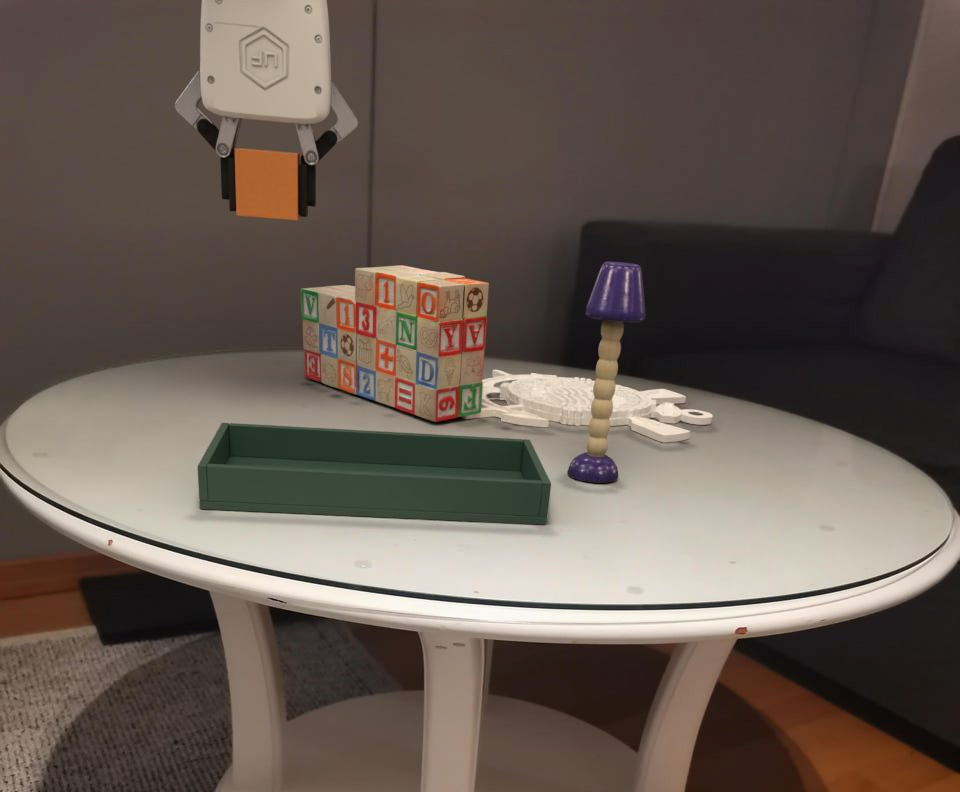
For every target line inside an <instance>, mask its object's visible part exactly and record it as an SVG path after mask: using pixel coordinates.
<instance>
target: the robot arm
mask: <svg viewBox="0 0 960 792" xmlns="http://www.w3.org/2000/svg"><path fill="white" fill-rule="evenodd" d="M200 6H201V7H200V32H199V33H200V34H199V35H200V37H199V69H198V71H197V72H196V73H195V75H194V76H193V78H192V79H191V80H190V81H189V83H188V84H187V86H186V87H185V89H184V90H183V91H182V93H181V94H180V96H179V97H178V98H177V100H176V101H175V103H174V110H175V111H176V112H177V113H178V114H179V115H180V116H181V117H182V118H183V119H184V120H185V121H186V122H187V123H188V124H189V125H191V127H193V128H194V129H195V130H196V131H197V132H198V133H199V134H200V135H201V136H202V138H203V139H204V140H205V141H206V142H207V143H208V145H209V146H210V147H211V148H212V149H213V150H214V151H215V152H216V154H217V156H218V157H219V158H220V160H219V161H220V186H221V199H222V200H226V201H227V200H228V202H229V203H228V204H229V206H228V207H229V212H236V180H235V149H236V145H237V142H238V138H239V133H240V129H241V126H242V122H243V120H253V121H265V122H274V123H286V124H294V126H295V129H296V133H297V138H298V140H299V145H300V149H301V152H302V154H301V164H300V165H299V166H298V215H300V218H301V217H302V218H307V217H308V216H309V207H313V208H315V207H316V204H317V164H318V163H319V162H320V161H321V160H322V159H323V158H325V156H326V155H327V154H328V153H329V152H330V151H331V150H332V149H333V148H335V146H336V145H337V144H338V143H340V142H341V141H342V140H343V139H344V138H346V137H347V136H348V135H349V134H351V133H352V132H354V131H355V130H356V129H357V128H358V125H359V120H358V118H357V117H356V115H355V113H354V111H353V110H352V108H350V105H349V104H348V103H347V101H346V100H345V98H344V97H343V95H342V93H341V92H340V91H339V89H338V88H337V86H336V84H335V83H334V82H333V80H332V66H331V65H332V58H331V55H332V54H331V32H330V19H329V10H328V0H201V5H200ZM200 102H202V105H203V106H204V108H205V109H206V110H208V111H209V112H211V113H213V114H215V115H217V116H221V117H222V118H221V123H220V126H219V128H218V127H217V126H216V124H214V122H213V121H211V119H209V118H208V117H207V116H206V115H205V114H204V113H203V112H202V111H201V110H200V108H199V104H200ZM331 109H332V110H333V112H334V113H335V115H336V118H337V119H336V122H335V123H334V124H333V125H332V126H331V127H329V128H328V129H327V130H326V131H324V132H323V133H322V134H321V135H320V137H318V138H317V139H316V135H315V132H314V128H313V125H317V124H321V123H324V122H325V121H326V120H327V119H328V118H329V116H330V112H331Z"/></svg>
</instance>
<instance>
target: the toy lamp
mask: <svg viewBox="0 0 960 792" xmlns="http://www.w3.org/2000/svg"><path fill="white" fill-rule="evenodd" d="M643 279H644V278H643V272H642V267H641V266H640V265H639V264H637V263H636V264H635V263H630V262H621V261H605V262H602V265H601V266H600V269H599V272H598V273H597V277H596V280H595V281H594V286H593V287H592V290H591V293H590V296H589V298H588V301H587V304H586V306H585V315H586V317H588V318H591V319H595V320H601V321H602V322H601V325H600V326H601V327H600V335H601V340H600V342H599V345H598V351H597V352H598V357H599V358H598V360H597V362H596V366H595V375H596V378H595V380H594V381H595V382H594V386H593V394H594V397H595V398H594V399H593V401H592V404H591V414H592V418H591V420H590V423H589V425H588V432H589V436H588V438H587V441H586V451H587V452H583V453H580V454H578V455H576V456H575V457H574V458H573V459H572V460H571V461H570V463H569V466H568V468H567V475H568V476H569V477H570V478H572V479H573V480H578V481H581V482H585V483H586V482H587V483H593V484H594V483H595V484H607V483H612V482H615V481H617V480H618V479H619V467H618V466H617V464H616V462H615V461H614V460H613V458H612V457H610V456H609V455H607V454H606V453H607V452H608V448H609V440H608V436H609V434H610V431H611V426H610V419H609V418H610V416H611V414H612V411H613V402H612V397H613V395H614V393H615V385H616V382H615V378H616V377H617V375H618V371H619V363H618V359H619V357H620V355H621V351H622V343H621V339H622V337H623V335H624V329H625V324H624V323H642V322H644V321H645V319H646V302H645V291H644V290H645V289H644V281H643Z"/></svg>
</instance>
